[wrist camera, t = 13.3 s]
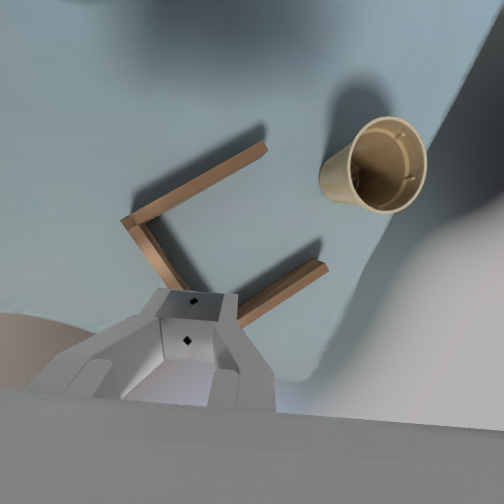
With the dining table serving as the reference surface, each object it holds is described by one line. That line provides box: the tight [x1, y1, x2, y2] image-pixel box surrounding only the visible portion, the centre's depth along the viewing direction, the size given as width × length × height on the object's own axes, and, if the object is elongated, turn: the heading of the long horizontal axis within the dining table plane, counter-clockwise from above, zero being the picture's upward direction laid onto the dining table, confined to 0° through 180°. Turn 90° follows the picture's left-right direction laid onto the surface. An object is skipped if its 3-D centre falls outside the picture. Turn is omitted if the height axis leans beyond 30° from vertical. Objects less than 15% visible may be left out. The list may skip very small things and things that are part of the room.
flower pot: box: [319, 116, 427, 214], centre depth 28 cm, size 9×9×9 cm
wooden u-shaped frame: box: [120, 140, 329, 328], centre depth 29 cm, size 17×17×4 cm
